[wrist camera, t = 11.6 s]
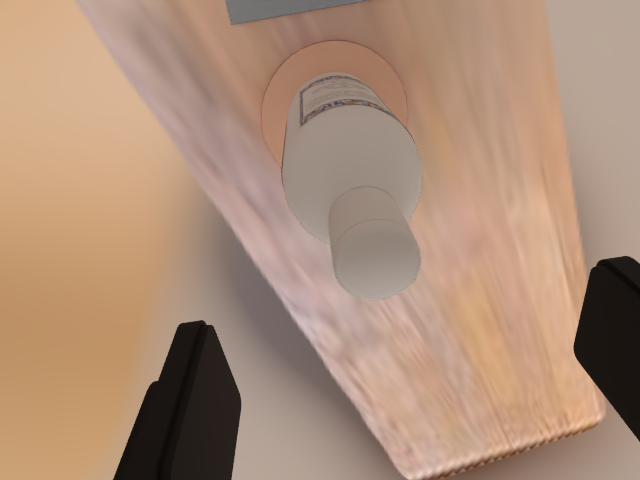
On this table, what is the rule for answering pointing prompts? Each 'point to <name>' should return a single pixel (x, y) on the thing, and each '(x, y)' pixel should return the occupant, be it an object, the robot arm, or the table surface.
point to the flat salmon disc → (318, 62)
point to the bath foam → (354, 183)
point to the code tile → (275, 8)
